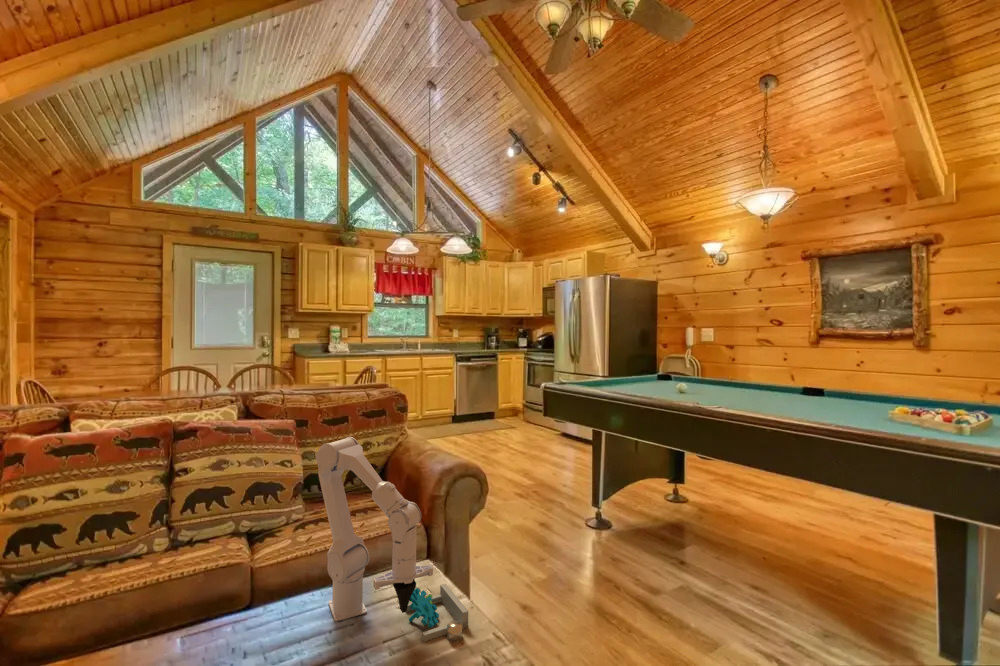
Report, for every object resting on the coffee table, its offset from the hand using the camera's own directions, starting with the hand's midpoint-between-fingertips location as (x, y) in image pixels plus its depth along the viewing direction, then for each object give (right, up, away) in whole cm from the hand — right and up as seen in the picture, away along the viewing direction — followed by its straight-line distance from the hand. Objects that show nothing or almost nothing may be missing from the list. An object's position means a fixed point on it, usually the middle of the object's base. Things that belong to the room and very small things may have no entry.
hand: (403, 610), depth 117 cm
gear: (+5, -5, +3) cm, 7 cm away
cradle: (+7, -5, +4) cm, 9 cm away
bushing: (+13, -5, -3) cm, 14 cm away
